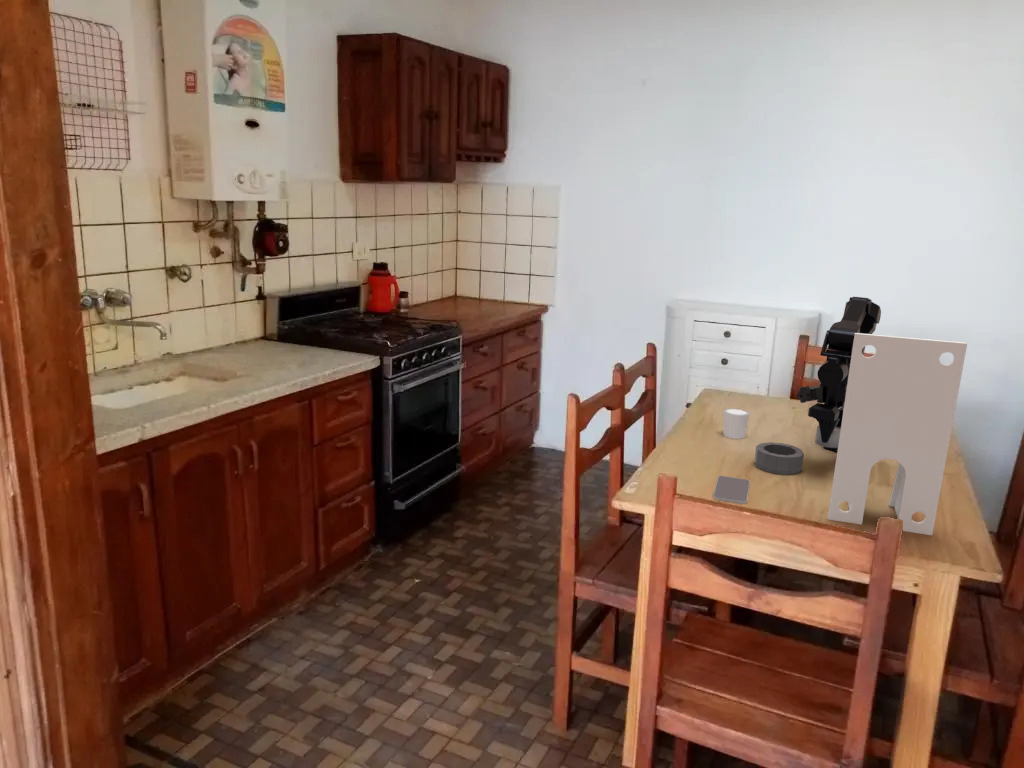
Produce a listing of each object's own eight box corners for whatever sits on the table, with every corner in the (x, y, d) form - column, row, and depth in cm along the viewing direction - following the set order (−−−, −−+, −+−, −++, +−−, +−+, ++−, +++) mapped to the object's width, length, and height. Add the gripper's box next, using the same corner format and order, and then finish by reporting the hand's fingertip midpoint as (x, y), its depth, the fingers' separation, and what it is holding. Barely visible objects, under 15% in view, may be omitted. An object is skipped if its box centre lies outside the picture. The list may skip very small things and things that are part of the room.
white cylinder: (751, 438, 223) (754, 414, 221) (731, 440, 220) (733, 416, 218) (736, 431, 229) (739, 407, 227) (716, 433, 226) (718, 409, 224)
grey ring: (764, 456, 208) (766, 439, 207) (807, 466, 202) (809, 449, 201) (747, 466, 200) (749, 449, 199) (791, 478, 194) (793, 460, 192)
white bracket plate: (921, 509, 178) (953, 331, 168) (932, 535, 165) (967, 343, 155) (825, 495, 184) (850, 322, 174) (828, 519, 171) (855, 333, 161)
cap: (819, 438, 204) (821, 423, 203) (844, 443, 200) (846, 428, 199) (811, 443, 199) (813, 428, 198) (836, 449, 196) (838, 433, 195)
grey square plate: (750, 480, 190) (747, 502, 177) (750, 483, 191) (746, 506, 177) (718, 475, 193) (712, 496, 179) (717, 478, 193) (712, 500, 179)
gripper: (816, 366, 208) (808, 424, 212) (790, 378, 193) (782, 440, 197) (861, 374, 201) (852, 434, 205) (838, 387, 187) (829, 451, 191)
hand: (828, 439), depth 200 cm, fingers closed on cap, 6 cm apart
